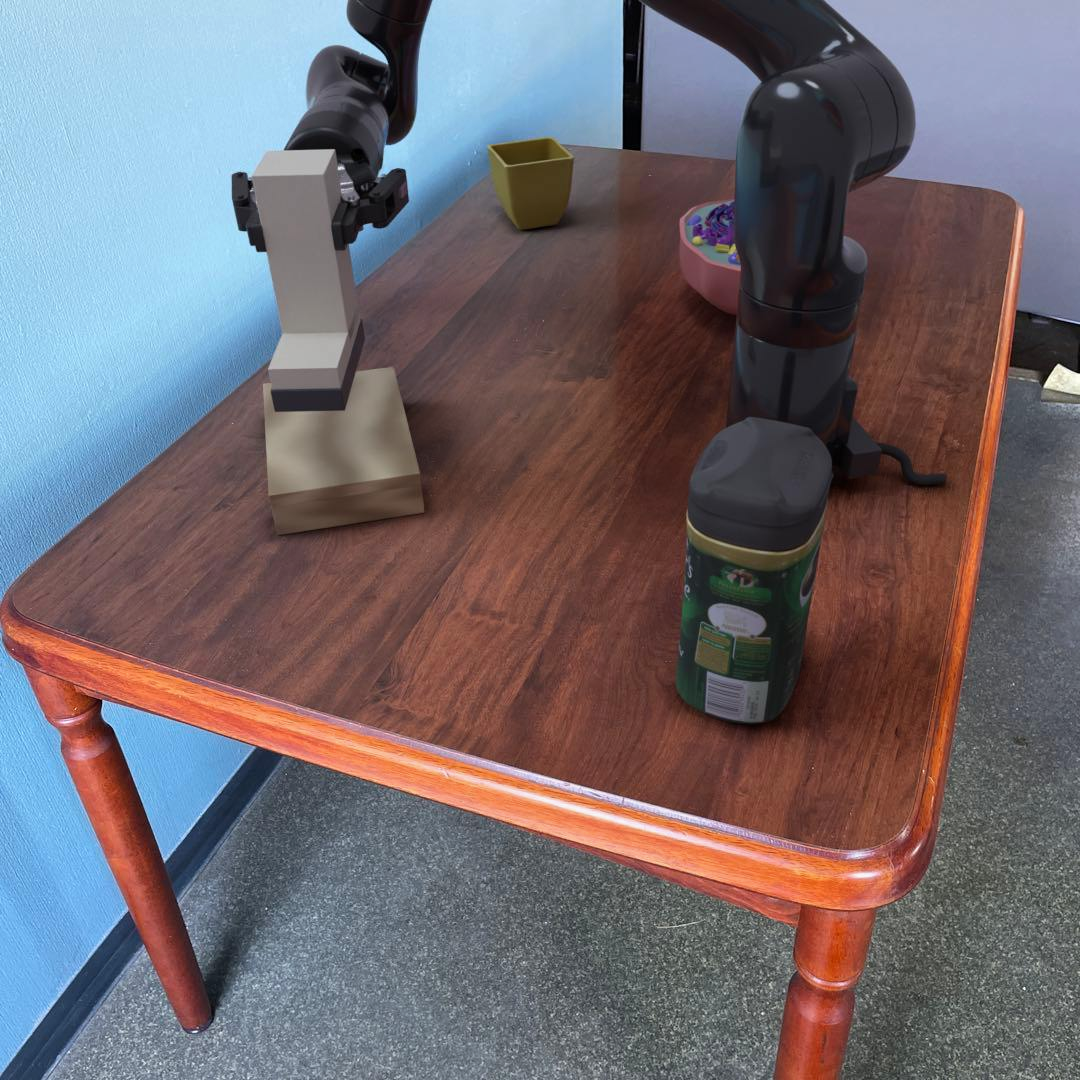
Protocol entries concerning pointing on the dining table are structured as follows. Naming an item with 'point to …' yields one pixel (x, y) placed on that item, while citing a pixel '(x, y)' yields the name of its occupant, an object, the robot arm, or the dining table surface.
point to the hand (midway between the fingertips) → (298, 238)
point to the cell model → (711, 253)
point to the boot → (308, 281)
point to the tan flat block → (343, 459)
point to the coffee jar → (750, 568)
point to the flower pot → (532, 180)
